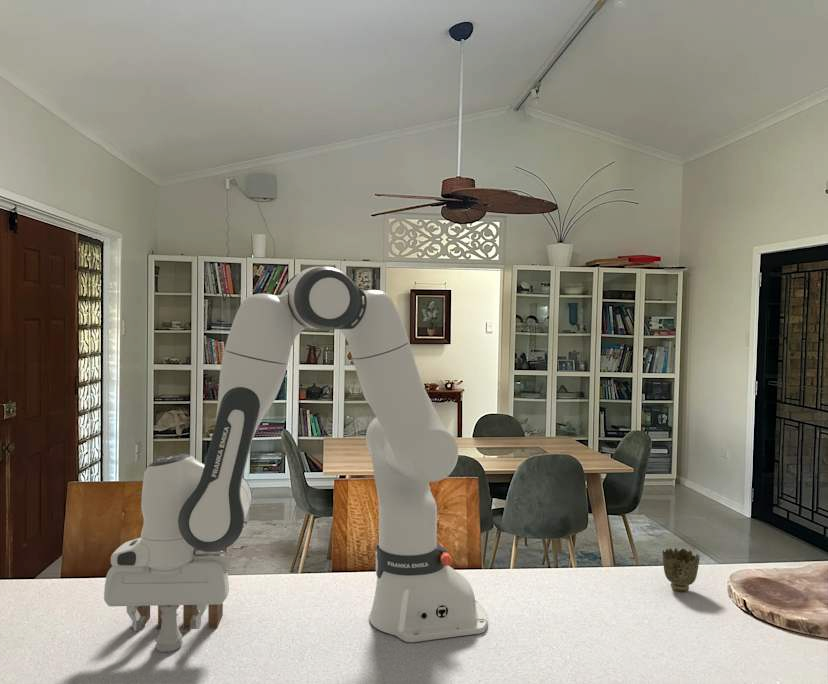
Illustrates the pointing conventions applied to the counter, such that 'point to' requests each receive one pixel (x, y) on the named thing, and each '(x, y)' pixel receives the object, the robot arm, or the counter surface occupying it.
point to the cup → (680, 568)
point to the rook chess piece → (169, 630)
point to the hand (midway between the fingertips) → (167, 628)
